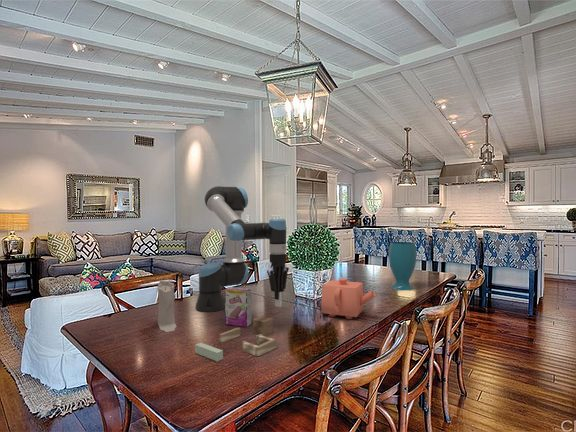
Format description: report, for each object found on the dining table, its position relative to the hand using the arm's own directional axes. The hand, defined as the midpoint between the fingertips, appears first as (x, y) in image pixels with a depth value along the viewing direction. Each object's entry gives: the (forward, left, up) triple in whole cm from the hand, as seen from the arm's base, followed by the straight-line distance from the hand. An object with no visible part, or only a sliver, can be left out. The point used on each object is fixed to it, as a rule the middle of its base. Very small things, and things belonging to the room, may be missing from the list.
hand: (278, 306), depth 154 cm
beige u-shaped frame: (+3, -23, -9) cm, 25 cm away
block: (0, -10, -9) cm, 14 cm away
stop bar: (0, -39, -9) cm, 40 cm away
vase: (+18, +109, -9) cm, 111 cm away
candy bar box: (-16, -9, -9) cm, 21 cm away
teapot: (+18, +34, -9) cm, 40 cm away
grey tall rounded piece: (-39, -30, -9) cm, 50 cm away
